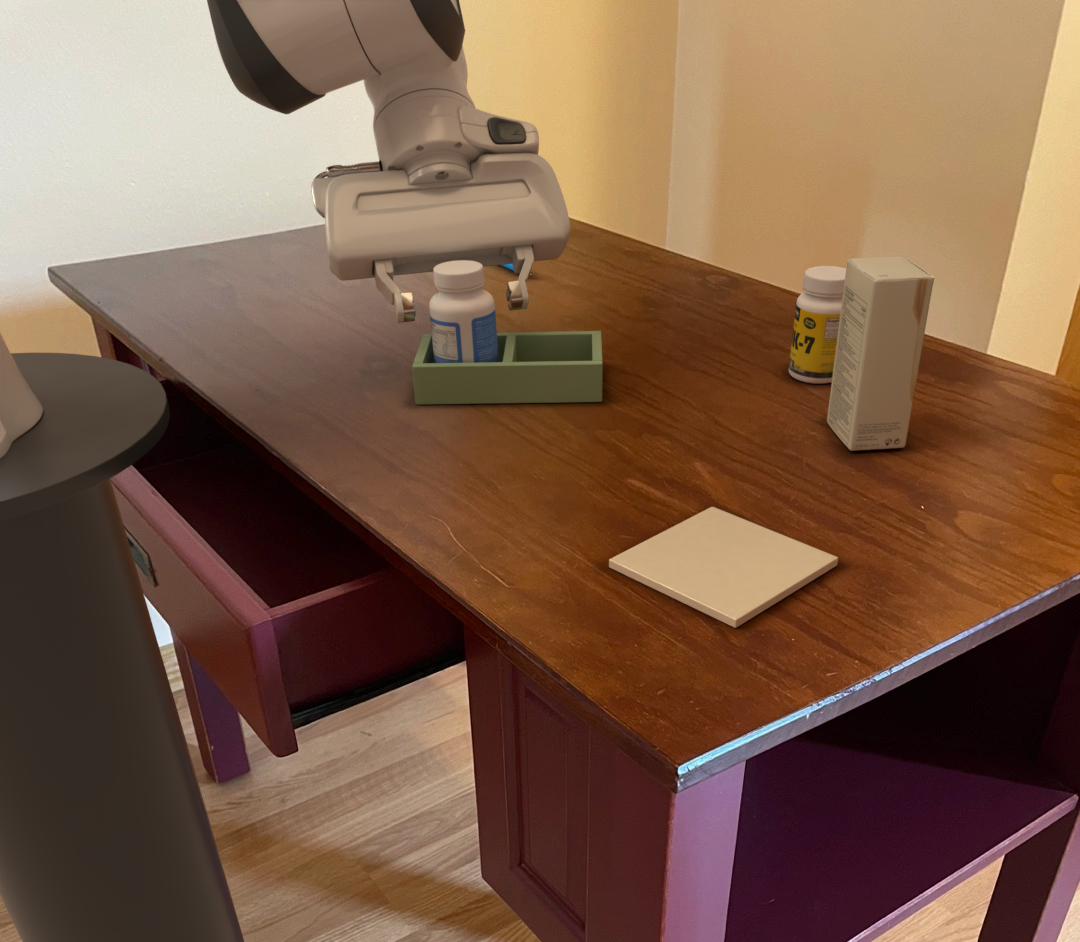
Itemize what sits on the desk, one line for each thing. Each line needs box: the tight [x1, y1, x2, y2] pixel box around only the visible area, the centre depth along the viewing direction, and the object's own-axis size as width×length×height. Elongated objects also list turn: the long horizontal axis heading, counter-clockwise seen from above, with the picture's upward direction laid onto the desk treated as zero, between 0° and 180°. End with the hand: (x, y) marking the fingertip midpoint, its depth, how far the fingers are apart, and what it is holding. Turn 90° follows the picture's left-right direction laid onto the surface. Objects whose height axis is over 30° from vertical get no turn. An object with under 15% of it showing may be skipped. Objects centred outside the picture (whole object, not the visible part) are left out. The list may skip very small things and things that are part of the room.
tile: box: [608, 506, 839, 629], centre depth 67 cm, size 10×10×1 cm
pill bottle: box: [428, 260, 499, 363], centre depth 90 cm, size 6×5×10 cm
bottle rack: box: [411, 330, 604, 406], centre depth 91 cm, size 8×15×3 cm, turn 88°
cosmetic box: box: [826, 255, 935, 452], centre depth 79 cm, size 6×4×12 cm
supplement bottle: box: [788, 265, 846, 385], centre depth 90 cm, size 5×5×8 cm
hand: (463, 312), depth 89 cm, fingers open, 8 cm apart
